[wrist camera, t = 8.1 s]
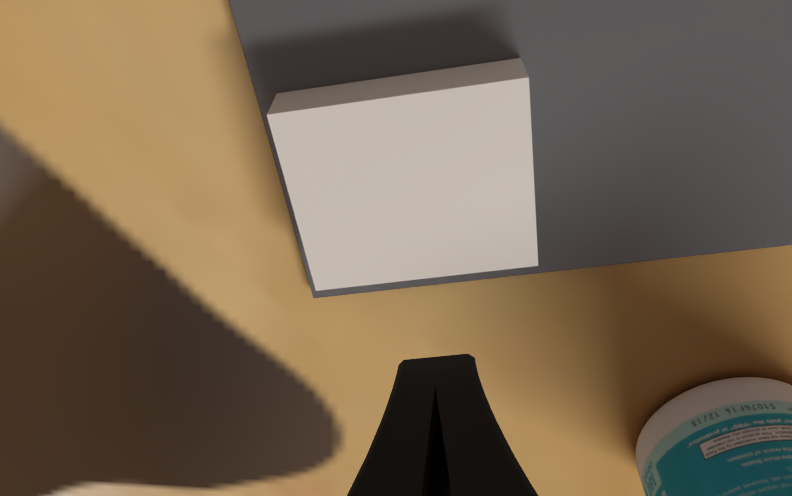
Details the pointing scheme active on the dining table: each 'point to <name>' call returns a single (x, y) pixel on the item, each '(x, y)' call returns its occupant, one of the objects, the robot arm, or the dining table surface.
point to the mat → (582, 110)
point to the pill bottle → (720, 441)
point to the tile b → (411, 174)
